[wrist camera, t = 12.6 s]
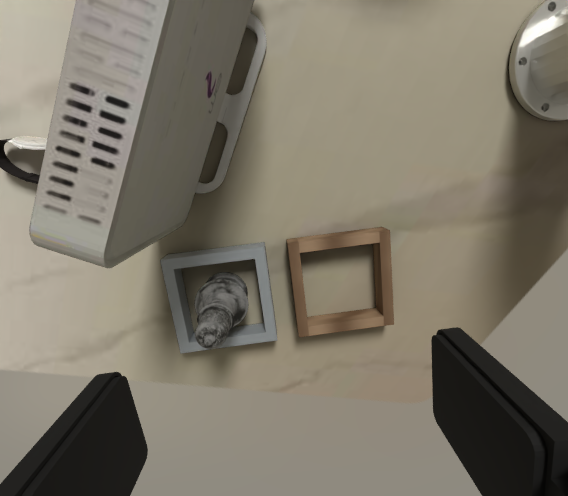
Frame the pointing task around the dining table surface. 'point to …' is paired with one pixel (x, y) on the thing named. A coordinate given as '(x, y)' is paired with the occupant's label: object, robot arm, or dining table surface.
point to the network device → (139, 121)
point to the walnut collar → (352, 318)
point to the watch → (21, 142)
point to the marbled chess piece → (219, 308)
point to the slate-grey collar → (214, 256)
